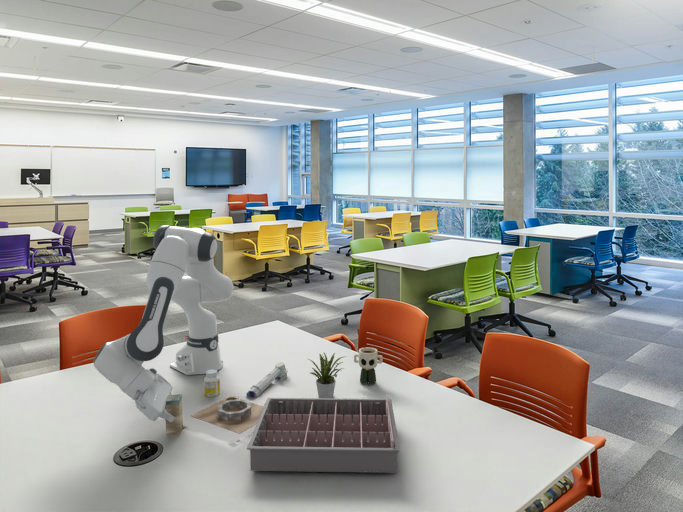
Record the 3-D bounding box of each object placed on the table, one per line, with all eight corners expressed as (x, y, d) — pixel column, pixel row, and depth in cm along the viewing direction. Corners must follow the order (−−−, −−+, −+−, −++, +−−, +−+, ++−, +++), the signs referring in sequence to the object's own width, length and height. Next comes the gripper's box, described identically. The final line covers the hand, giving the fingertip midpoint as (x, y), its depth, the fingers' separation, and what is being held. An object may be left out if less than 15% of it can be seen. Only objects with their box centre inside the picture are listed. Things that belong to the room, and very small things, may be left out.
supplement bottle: (210, 401, 178) (209, 375, 177) (201, 397, 182) (200, 371, 180) (223, 396, 182) (222, 371, 181) (214, 392, 186) (213, 367, 184)
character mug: (353, 385, 191) (353, 352, 189) (354, 378, 198) (354, 346, 196) (381, 387, 190) (382, 354, 188) (382, 379, 197) (382, 347, 195)
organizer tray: (268, 420, 164) (267, 391, 163) (390, 422, 163) (391, 392, 162) (247, 477, 133) (246, 441, 131) (399, 479, 132) (400, 443, 130)
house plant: (357, 397, 181) (357, 353, 179) (330, 410, 171) (329, 364, 169) (328, 386, 191) (328, 344, 188) (301, 397, 181) (301, 354, 178)
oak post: (166, 435, 155) (163, 401, 153) (168, 428, 159) (166, 395, 157) (181, 434, 155) (179, 400, 154) (183, 427, 160) (181, 394, 158)
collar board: (190, 419, 165) (190, 408, 164) (230, 399, 180) (230, 389, 179) (240, 437, 153) (239, 426, 153) (278, 414, 168) (278, 403, 168)
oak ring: (220, 403, 174) (220, 400, 174) (231, 397, 178) (231, 395, 178) (231, 406, 171) (231, 404, 171) (242, 401, 175) (242, 398, 175)
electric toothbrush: (244, 389, 179) (277, 357, 201) (246, 406, 181) (278, 372, 203) (256, 391, 177) (289, 359, 199) (258, 408, 179) (290, 374, 201)
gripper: (140, 391, 143) (177, 421, 146) (154, 365, 163) (187, 392, 166) (124, 407, 143) (162, 437, 146) (141, 379, 163) (174, 406, 166)
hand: (175, 412), depth 156 cm, fingers open, 8 cm apart
